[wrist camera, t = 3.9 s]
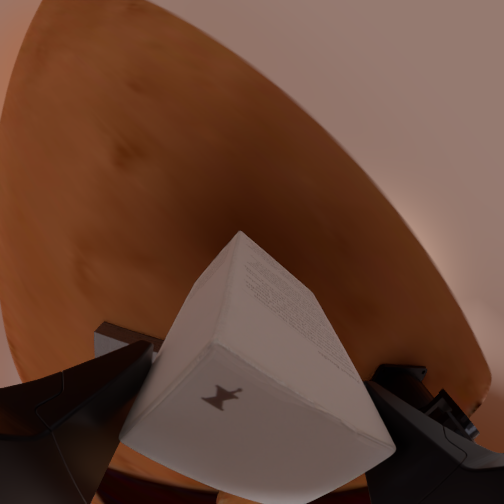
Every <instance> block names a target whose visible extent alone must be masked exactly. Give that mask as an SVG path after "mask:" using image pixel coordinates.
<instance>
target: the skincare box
mask: <svg viewBox="0 0 504 504" xmlns="http://www.w3.org/2000/svg"><path fill="white" fill-rule="evenodd" d="M119 440H120V441H121V442H122V443H123V444H125V445H126V446H128V447H130V448H131V449H133V450H135V451H137V452H139V453H140V454H142V455H144V456H146V457H148V458H150V459H152V460H154V461H156V462H158V463H160V464H162V465H164V466H166V467H168V468H170V469H172V470H174V471H176V472H178V473H180V474H183V475H185V476H187V477H190V478H192V479H194V480H197V481H199V482H201V483H204V484H206V485H208V486H211V487H213V488H216V489H219V490H221V491H224V492H227V493H230V494H233V495H236V496H239V497H242V498H245V499H248V500H252V501H255V502H259V503H263V504H306V503H308V502H310V501H312V500H315V499H317V498H319V497H321V496H323V495H325V494H327V493H329V492H331V491H333V490H335V489H336V488H338V487H340V486H342V485H344V484H346V483H348V482H349V481H351V480H353V479H355V478H356V477H358V476H360V475H361V474H363V473H365V472H366V471H368V470H370V469H371V468H373V467H375V466H376V465H378V464H379V463H381V462H382V461H384V460H385V459H387V458H388V457H390V456H391V455H392V454H393V453H394V452H395V451H396V446H395V444H394V442H393V440H392V438H391V436H390V434H389V432H388V430H387V428H386V426H385V424H384V423H383V421H382V419H381V417H380V415H379V413H378V411H377V409H376V407H375V405H374V403H373V401H372V399H371V397H370V395H369V393H368V391H367V389H366V388H365V386H364V384H363V382H362V380H361V378H360V376H359V374H358V372H357V371H356V369H355V367H354V365H353V363H352V362H351V360H350V358H349V356H348V354H347V353H346V351H345V349H344V347H343V345H342V344H341V342H340V340H339V338H338V336H337V335H336V333H335V331H334V329H333V328H332V326H331V324H330V322H329V320H328V319H327V317H326V315H325V313H324V312H323V310H322V308H321V306H320V305H319V303H318V301H317V299H316V298H315V296H314V294H313V293H312V292H311V291H310V290H309V289H308V288H307V287H306V286H304V285H303V284H302V283H301V282H300V281H299V280H298V279H296V278H295V277H294V276H293V275H292V274H291V273H289V272H288V271H287V270H286V269H285V268H284V267H283V266H281V265H280V264H279V263H278V262H277V261H276V260H274V259H273V258H272V257H271V256H270V255H269V254H268V253H266V252H265V251H264V250H263V249H262V248H260V247H259V246H258V245H257V244H256V243H255V242H254V241H252V240H251V239H250V238H249V237H248V236H246V235H245V234H244V233H243V232H242V231H238V233H237V234H236V235H235V236H234V237H233V238H232V240H231V241H230V242H229V243H228V244H227V245H226V246H225V247H224V248H223V250H222V251H221V252H220V253H219V254H218V255H217V257H216V258H215V259H214V260H213V261H212V262H211V264H210V265H209V266H208V267H207V268H206V270H205V271H204V272H203V273H202V275H201V276H200V277H199V278H198V279H197V280H196V282H195V283H194V285H193V287H192V289H191V291H190V293H189V295H188V296H187V298H186V300H185V302H184V304H183V306H182V308H181V310H180V311H179V313H178V315H177V317H176V319H175V321H174V323H173V325H172V327H171V329H170V331H169V332H168V334H167V336H166V339H165V340H164V342H163V344H162V346H161V348H160V350H159V352H158V354H157V356H156V358H155V360H154V362H153V364H152V366H151V368H150V370H149V372H148V374H147V376H146V378H145V380H144V382H143V384H142V387H141V389H140V391H139V393H138V395H137V398H136V400H135V401H134V403H133V405H132V407H131V409H130V411H129V414H128V416H127V418H126V420H125V422H124V425H123V427H122V429H121V432H120V434H119Z"/></svg>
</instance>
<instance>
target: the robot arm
mask: <svg viewBox="0 0 504 504" xmlns="http://www.w3.org/2000/svg"><path fill="white" fill-rule="evenodd" d="M153 347H154V346H153V343H151V342H148V341H145V340H139V341H136V342H134V343H131V344H129V345H127V346H124V347H122V348H119V349H117V350H114V351H112V352H109V353H107V354H104V355H102V356H99V357H97V358H94V359H92V360H89V361H87V362H84V363H82V364H79V365H76V366H74V367H71V368H69V369H66V370H63V371H62V372H58V373H55V374H52V375H49V376H46V377H44V378H40V379H37V380H34V381H30V382H26V383H22V384H18V385H13V386H9V387H4V388H0V504H90V503H91V501H92V499H93V497H94V495H95V492H96V490H97V488H98V486H99V484H100V482H101V480H102V478H103V476H104V473H105V471H106V469H107V467H108V465H109V463H110V461H111V459H112V457H113V455H114V453H115V451H116V449H117V447H118V445H119V443H120V440H119V434H120V432H121V429H122V427H123V425H124V422H125V420H126V418H127V416H128V414H129V411H130V409H131V407H132V405H133V403H134V401H135V400H136V398H137V395H138V393H139V391H140V389H141V387H142V384H143V382H144V380H145V378H146V376H147V374H148V372H149V370H150V368H151V366H152V359H153ZM383 369H384V370H383ZM382 370H383V371H382ZM426 373H427V369H426V367H424V366H401V365H385V364H384V365H381V366H380V367H379V368H378V370H377V372H376V374H375V376H374V377H373V379H372V381H364V382H363V384H364V386H365V388H366V389H367V391H368V393H369V395H370V397H371V399H372V401H373V403H374V405H375V407H376V409H377V411H378V413H379V415H380V417H381V419H382V421H383V423H384V424H385V426H386V428H387V430H388V432H389V434H390V436H391V438H392V440H393V442H394V444H395V446H396V451H395V452H394V453H393V454H392V455H391V456H390V457H388V458H387V459H385V460H384V461H382V462H381V463H379V464H378V465H376V466H375V467H373V468H371V469H370V470H368V471H366V472H365V476H366V480H367V485H368V489H369V494H370V499H371V504H504V453H496V452H493V451H490V450H488V449H486V448H484V447H482V446H480V445H477V444H476V442H475V441H474V439H475V438H476V437H477V436H478V435H479V434H480V433H479V431H478V430H477V429H476V427H475V426H474V425H473V423H472V422H471V421H470V420H469V418H468V417H467V416H466V415H465V414H464V412H463V411H462V410H461V409H460V408H459V406H458V405H457V404H456V403H455V402H454V401H453V399H452V398H451V397H450V396H449V395H448V394H447V392H446V391H445V390H444V389H442V390H441V391H440V392H439V394H438V395H437V396H436V397H435V398H434V397H433V396H432V395H431V393H430V392H429V391H428V390H427V388H426V387H425V386H424V385H423V383H422V382H421V381H422V380H423V378H424V376H425V374H426Z"/></svg>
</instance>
